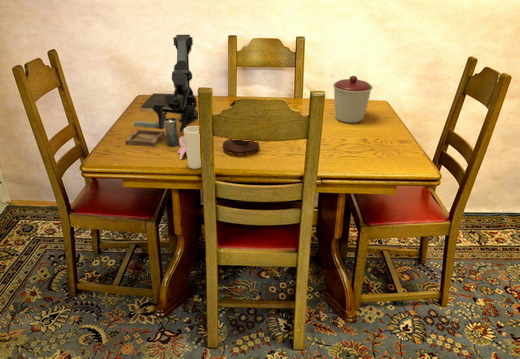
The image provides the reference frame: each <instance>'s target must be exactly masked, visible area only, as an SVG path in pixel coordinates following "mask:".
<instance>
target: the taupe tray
mask: <svg viewBox="0 0 520 359" xmlns="http://www.w3.org/2000/svg"><path fill="white" fill-rule="evenodd" d="M165 136H166V130H165V131H164V130H152V129H151V130H150V129H136V130H135V131H134V132H133V133H132V134H130V135H129V136H128V137H127V138H126V139H125V141H124V142H125V145H128V146H142V147H152V148H153V147H154V148H155V147H156V146H157V145H158V144H159V143H160V141H161V140H162V139H163V138H164V137H165Z"/></svg>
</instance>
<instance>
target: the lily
mask: <svg viewBox="0 0 520 359" xmlns="http://www.w3.org/2000/svg"><path fill="white" fill-rule="evenodd" d="M178 143H179V146H180V147H179V149H178V151H177V154H179V160H182V159H183V157H184V154H185V153H186V148H185V142H184V135H182V136H180V137H179V138H178Z"/></svg>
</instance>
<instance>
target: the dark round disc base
mask: <svg viewBox="0 0 520 359" xmlns="http://www.w3.org/2000/svg"><path fill="white" fill-rule="evenodd" d="M237 100H238V99H237ZM237 100H236V99H235V100H233V101H232V102H231V104H230V106H229V108H230V107H231V106H233V105H234V104H235V102H236V101H237ZM222 149H223V150H224V151H225V152H227V153H229V154H234V156H235V157H237V156H239V155H246V154H247V155H248V154H252V153H254V152H257V153H258V151H259V149H260V143H259V141H258V142H254V141H243V140H232V139H230V138H227V139H226V140H225V141H223V143H222Z"/></svg>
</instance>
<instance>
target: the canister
mask: <svg viewBox="0 0 520 359" xmlns="http://www.w3.org/2000/svg"><path fill="white" fill-rule="evenodd" d="M332 86H333V93H334V95H333V96H334V100H333V101H334V115H335V118H336V119H337V120H338V121H340V122H342V123H347V124H348V123H349V124H355V123H356V124H357V123H359V122H361V121H362V120H364V118H365V115H366V113H367V108H368V104H369V99H370V96H371V91H372V90H373V85H372V84H371V83H369V82H368V81H365V80H361V79H358V77H357V76H356V75H351V76H350V77H349V78H346V79H340V80H338V81H336V82H334V83H333V84H332Z"/></svg>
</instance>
